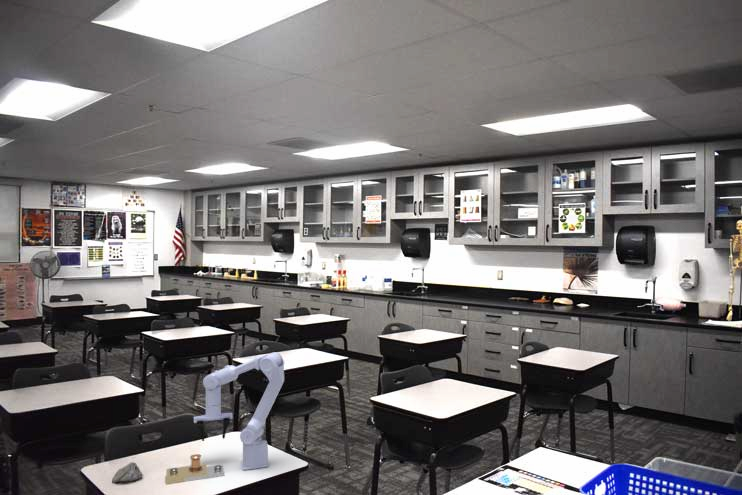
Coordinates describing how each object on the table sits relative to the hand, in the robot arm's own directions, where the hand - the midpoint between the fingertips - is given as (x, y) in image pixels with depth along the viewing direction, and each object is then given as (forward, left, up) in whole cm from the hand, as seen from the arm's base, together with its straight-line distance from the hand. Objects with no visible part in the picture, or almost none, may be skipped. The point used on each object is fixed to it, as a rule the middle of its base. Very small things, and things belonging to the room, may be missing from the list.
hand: (213, 438), depth 207 cm
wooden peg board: (+7, +10, -9) cm, 15 cm away
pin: (+7, +10, -9) cm, 15 cm away
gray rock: (+30, +4, -10) cm, 32 cm away
